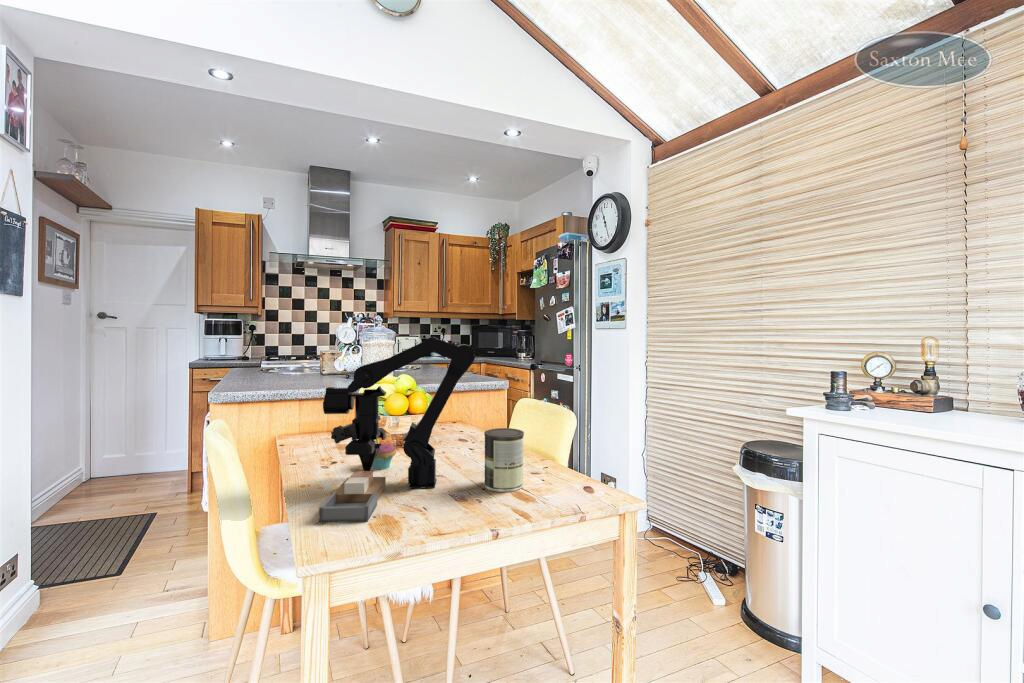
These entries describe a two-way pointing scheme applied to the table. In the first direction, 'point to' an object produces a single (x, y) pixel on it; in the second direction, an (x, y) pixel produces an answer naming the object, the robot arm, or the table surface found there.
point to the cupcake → (384, 455)
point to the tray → (346, 510)
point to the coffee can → (503, 459)
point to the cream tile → (356, 485)
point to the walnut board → (375, 486)
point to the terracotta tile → (364, 475)
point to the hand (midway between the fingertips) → (367, 473)
